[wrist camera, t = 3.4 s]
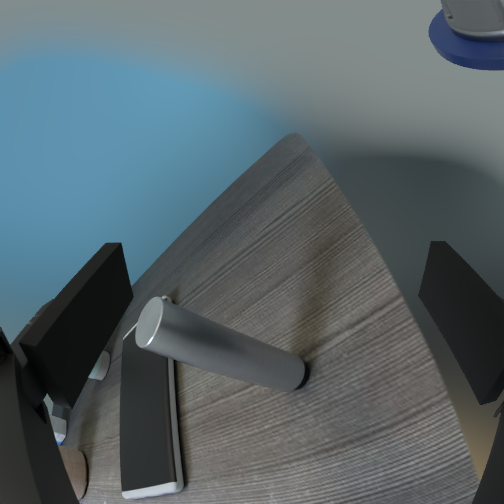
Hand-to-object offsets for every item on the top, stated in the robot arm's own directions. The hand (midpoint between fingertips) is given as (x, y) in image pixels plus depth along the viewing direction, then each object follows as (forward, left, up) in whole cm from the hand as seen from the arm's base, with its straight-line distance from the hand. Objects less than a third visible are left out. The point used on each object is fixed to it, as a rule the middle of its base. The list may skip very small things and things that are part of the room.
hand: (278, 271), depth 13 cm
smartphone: (+26, -19, -12) cm, 34 cm away
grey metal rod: (+7, -5, -12) cm, 14 cm away
